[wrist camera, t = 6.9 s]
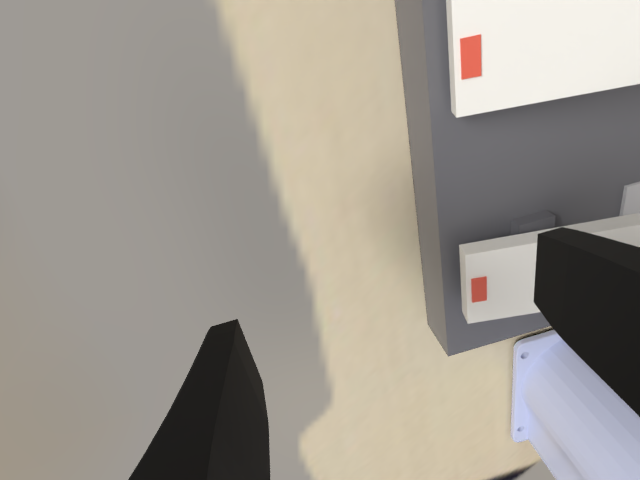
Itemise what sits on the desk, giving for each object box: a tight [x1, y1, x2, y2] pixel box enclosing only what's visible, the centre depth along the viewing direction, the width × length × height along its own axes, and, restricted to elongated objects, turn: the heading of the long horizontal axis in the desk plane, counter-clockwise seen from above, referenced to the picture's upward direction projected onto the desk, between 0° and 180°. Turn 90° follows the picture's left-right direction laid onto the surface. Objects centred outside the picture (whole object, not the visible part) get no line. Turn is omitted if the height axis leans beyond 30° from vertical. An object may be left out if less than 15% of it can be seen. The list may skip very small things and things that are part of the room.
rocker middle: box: [446, 0, 640, 118], centre depth 13 cm, size 4×7×1 cm, turn 102°
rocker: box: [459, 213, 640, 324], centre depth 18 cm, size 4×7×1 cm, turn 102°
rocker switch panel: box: [395, 0, 640, 356], centre depth 15 cm, size 28×12×3 cm, turn 12°
